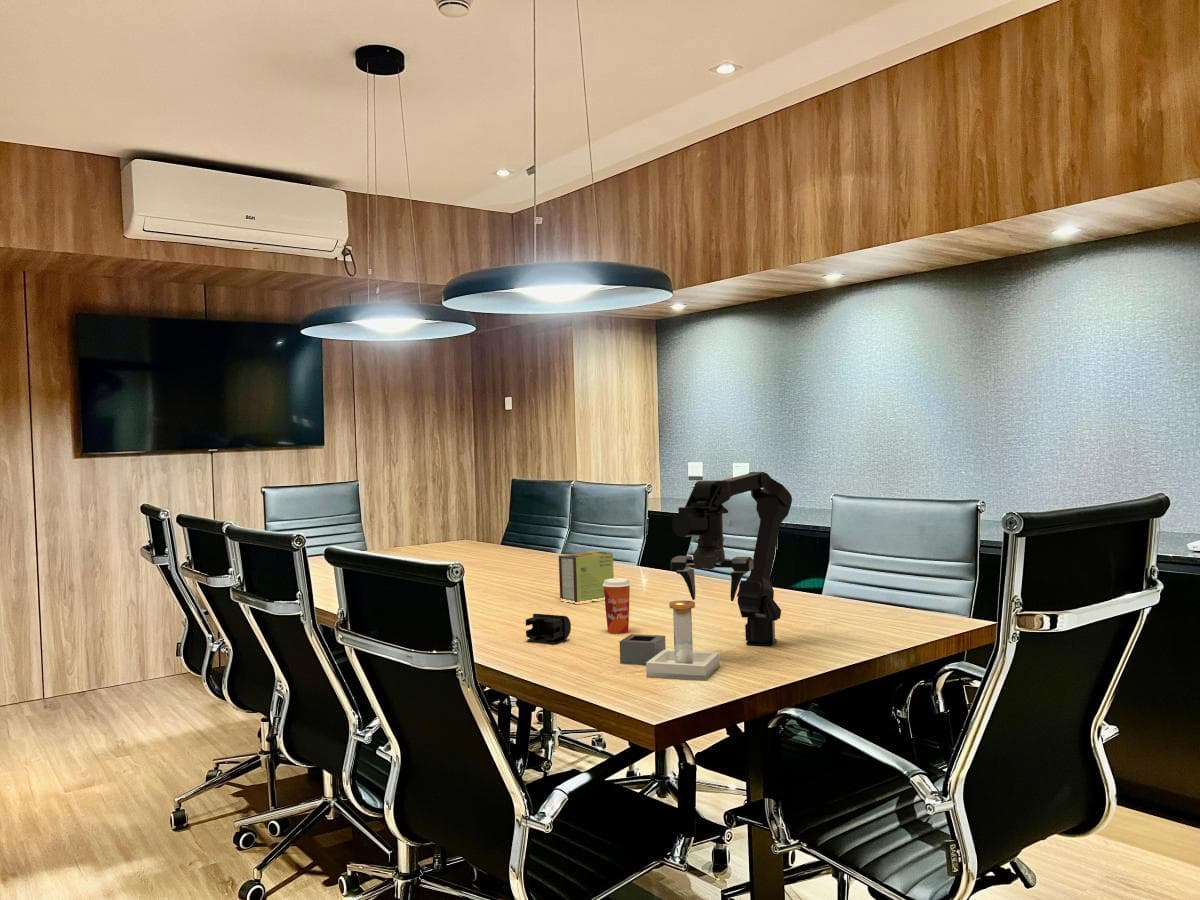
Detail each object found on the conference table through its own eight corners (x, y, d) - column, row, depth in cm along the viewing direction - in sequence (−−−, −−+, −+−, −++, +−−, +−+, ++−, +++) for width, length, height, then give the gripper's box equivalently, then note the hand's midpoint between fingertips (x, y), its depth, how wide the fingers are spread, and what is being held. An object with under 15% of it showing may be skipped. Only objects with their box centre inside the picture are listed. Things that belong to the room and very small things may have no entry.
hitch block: (665, 657, 208) (665, 635, 208) (655, 665, 200) (654, 643, 200) (632, 655, 211) (631, 634, 211) (620, 663, 203) (619, 641, 203)
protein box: (615, 599, 294) (613, 552, 294) (577, 605, 285) (575, 557, 285) (596, 596, 302) (595, 550, 302) (559, 601, 293) (557, 554, 293)
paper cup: (608, 635, 235) (607, 582, 235) (600, 630, 242) (598, 579, 242) (636, 633, 237) (634, 580, 237) (627, 627, 244) (626, 577, 244)
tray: (719, 666, 197) (719, 652, 197) (705, 680, 185) (705, 666, 185) (664, 662, 202) (663, 649, 202) (646, 676, 190) (646, 662, 190)
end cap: (571, 640, 231) (571, 614, 231) (556, 645, 225) (555, 618, 225) (540, 637, 236) (539, 611, 236) (524, 642, 230) (523, 616, 230)
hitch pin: (694, 663, 197) (692, 600, 197) (698, 668, 191) (696, 603, 191) (669, 664, 196) (667, 601, 196) (673, 670, 191) (671, 604, 191)
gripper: (662, 536, 203) (664, 604, 203) (742, 537, 197) (745, 607, 197) (676, 532, 214) (678, 597, 214) (752, 532, 207) (755, 599, 207)
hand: (712, 600), depth 207 cm, fingers open, 9 cm apart
